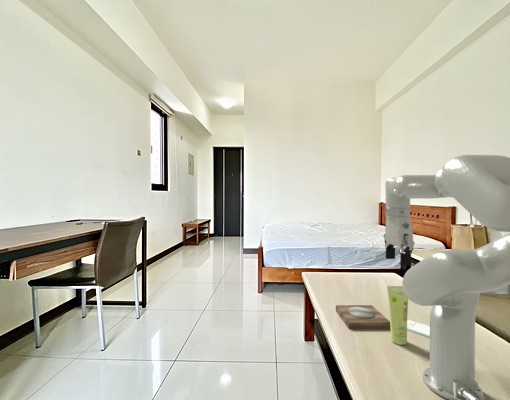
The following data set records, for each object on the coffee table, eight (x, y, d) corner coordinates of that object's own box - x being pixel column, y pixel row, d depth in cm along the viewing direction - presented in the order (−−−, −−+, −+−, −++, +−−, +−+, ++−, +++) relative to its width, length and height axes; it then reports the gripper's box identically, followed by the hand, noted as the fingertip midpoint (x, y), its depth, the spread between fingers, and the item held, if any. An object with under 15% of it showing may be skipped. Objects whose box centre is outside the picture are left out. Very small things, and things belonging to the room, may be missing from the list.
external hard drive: (436, 342, 91) (398, 328, 101) (443, 334, 96) (407, 322, 106) (436, 337, 91) (398, 324, 101) (443, 330, 96) (407, 318, 106)
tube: (402, 347, 87) (402, 289, 87) (387, 341, 91) (386, 285, 91) (409, 342, 90) (409, 286, 90) (394, 336, 94) (394, 282, 94)
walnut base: (390, 328, 100) (390, 320, 100) (348, 328, 100) (348, 320, 100) (371, 310, 116) (371, 304, 116) (335, 310, 116) (335, 304, 116)
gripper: (424, 214, 82) (424, 268, 82) (395, 211, 99) (395, 256, 99) (400, 214, 82) (400, 268, 82) (375, 211, 99) (375, 256, 99)
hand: (397, 261), depth 91 cm, fingers open, 9 cm apart
